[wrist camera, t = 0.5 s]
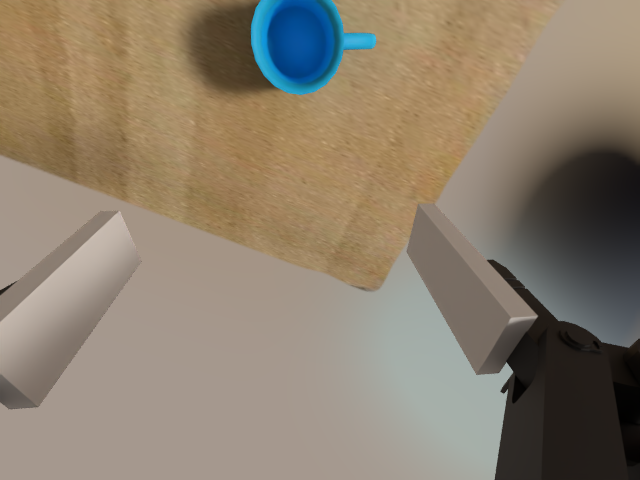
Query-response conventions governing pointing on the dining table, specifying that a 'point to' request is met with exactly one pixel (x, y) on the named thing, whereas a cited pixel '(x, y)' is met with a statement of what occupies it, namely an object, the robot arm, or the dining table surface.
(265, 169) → the dining table surface
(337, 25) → the mug
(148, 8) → the dining table surface
